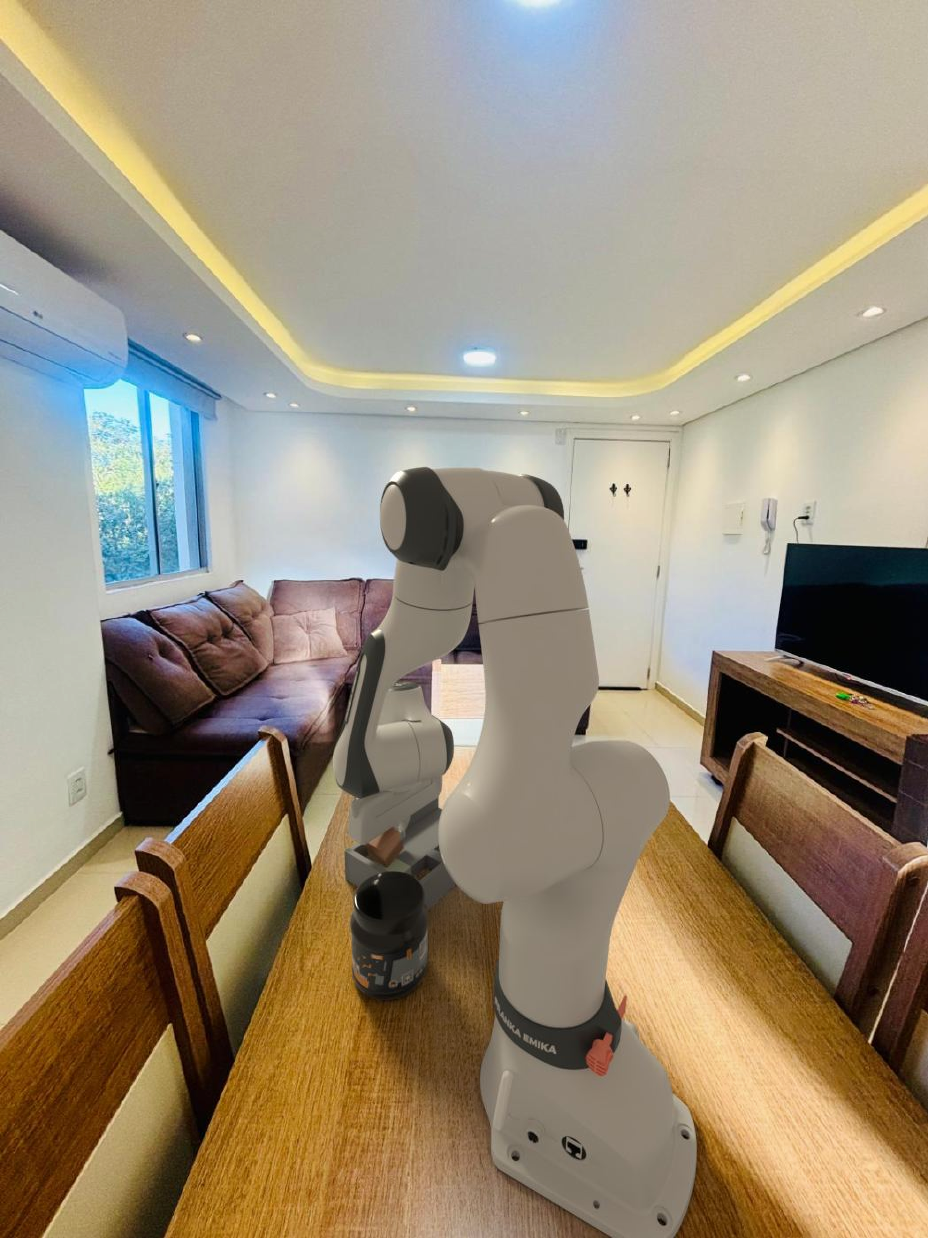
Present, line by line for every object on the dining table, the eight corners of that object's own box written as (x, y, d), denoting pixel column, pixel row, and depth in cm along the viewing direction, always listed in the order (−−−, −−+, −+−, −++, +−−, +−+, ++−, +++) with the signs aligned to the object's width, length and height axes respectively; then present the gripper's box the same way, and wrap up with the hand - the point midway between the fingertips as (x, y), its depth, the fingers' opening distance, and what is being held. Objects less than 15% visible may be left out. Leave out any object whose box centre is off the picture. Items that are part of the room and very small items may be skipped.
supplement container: (346, 950, 74) (344, 877, 71) (417, 931, 77) (416, 861, 75) (358, 1016, 64) (355, 934, 62) (438, 990, 68) (438, 912, 65)
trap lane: (498, 846, 97) (499, 820, 96) (413, 923, 79) (413, 892, 78) (434, 816, 107) (434, 792, 106) (345, 879, 88) (344, 850, 87)
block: (403, 848, 90) (398, 831, 88) (387, 867, 87) (380, 850, 85) (386, 838, 93) (380, 821, 91) (369, 857, 90) (363, 840, 88)
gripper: (364, 802, 79) (365, 878, 82) (448, 754, 95) (446, 820, 98) (338, 787, 83) (340, 861, 86) (423, 744, 99) (422, 807, 102)
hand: (397, 839), depth 92 cm, fingers closed
